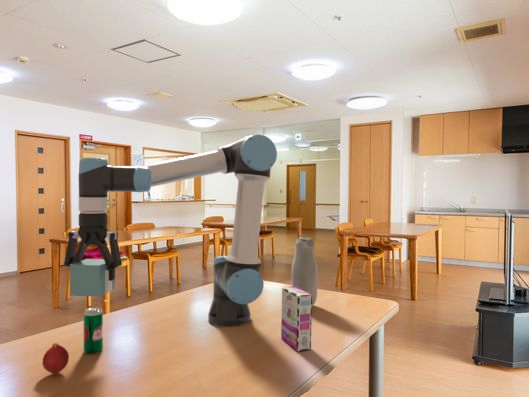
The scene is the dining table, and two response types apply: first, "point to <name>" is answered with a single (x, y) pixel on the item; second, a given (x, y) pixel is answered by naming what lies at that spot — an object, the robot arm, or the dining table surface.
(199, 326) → the dining table surface
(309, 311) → the candy bar box
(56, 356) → the pomegranate
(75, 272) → the seafoam cube
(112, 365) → the dining table surface
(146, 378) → the dining table surface
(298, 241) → the grey bottle
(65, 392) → the dining table surface
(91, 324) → the soda can
